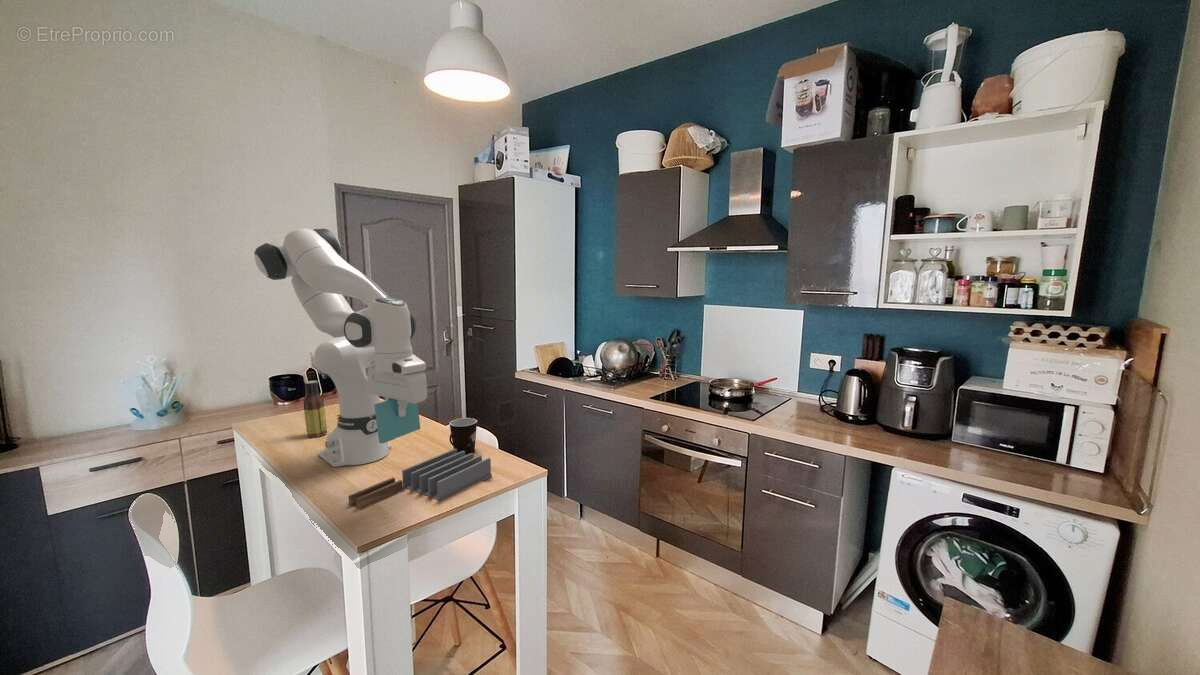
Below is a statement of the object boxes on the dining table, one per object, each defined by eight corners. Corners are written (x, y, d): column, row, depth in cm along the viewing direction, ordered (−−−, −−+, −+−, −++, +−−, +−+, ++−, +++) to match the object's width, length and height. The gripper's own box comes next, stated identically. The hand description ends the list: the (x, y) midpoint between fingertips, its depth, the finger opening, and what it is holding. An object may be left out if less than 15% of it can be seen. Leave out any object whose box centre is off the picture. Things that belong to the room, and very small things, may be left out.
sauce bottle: (322, 431, 167) (318, 378, 165) (330, 434, 164) (326, 380, 161) (303, 436, 162) (298, 381, 159) (310, 439, 158) (306, 384, 156)
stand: (347, 506, 112) (346, 494, 111) (391, 487, 122) (390, 476, 122) (361, 513, 109) (360, 500, 108) (405, 493, 119) (404, 481, 119)
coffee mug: (468, 444, 154) (467, 416, 153) (483, 450, 148) (482, 421, 147) (436, 455, 145) (435, 424, 144) (452, 461, 140) (450, 430, 138)
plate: (379, 442, 113) (374, 404, 111) (417, 427, 122) (413, 392, 121) (382, 443, 113) (377, 405, 111) (420, 428, 122) (416, 393, 120)
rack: (402, 489, 121) (401, 469, 121) (455, 465, 137) (454, 448, 136) (440, 503, 114) (439, 482, 113) (491, 476, 129) (491, 458, 128)
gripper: (358, 360, 117) (362, 411, 119) (407, 368, 107) (411, 425, 108) (381, 356, 123) (385, 406, 124) (430, 364, 112) (433, 418, 114)
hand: (397, 415), depth 116 cm, fingers closed on plate, 1 cm apart
